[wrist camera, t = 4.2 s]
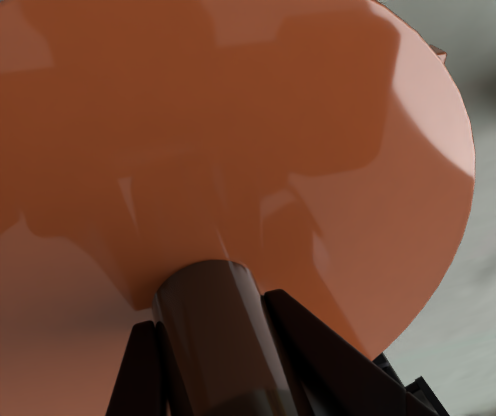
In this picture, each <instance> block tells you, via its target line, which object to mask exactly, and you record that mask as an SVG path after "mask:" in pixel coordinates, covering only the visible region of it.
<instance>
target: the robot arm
mask: <svg viewBox="0 0 496 416" xmlns="http://www.w3.org/2000/svg"><path fill="white" fill-rule="evenodd" d="M263 297H264V299H265V302H266V304H267V306H268V308H269V311H270V313H271V315H272V317H273V320H274V322H275V324H276V326H277V329H278V331H279V333H280V336H281V338H282V340H283V342H284V345H285V347H286V349H287V351H288V354H289V356H290V358H291V360H292V363H293V365H294V367H295V369H296V372H297V374H298V376H299V378H300V381H301V383H302V385H303V388H304V390H305V392H306V394H307V397H308V399H309V401H310V403H311V406H312V408H313V410H314V412H315V415H316V416H450V415H449V414H448V413H447V411H446V410H445V408H444V407H443V406H442V404H441V403H440V401H439V400H438V398H437V397H436V396H435V394H434V393H433V391H432V390H431V389H430V387H429V386H428V384H427V383H426V382H425V380H424V379H423V377H422V376H421V377H419V378H417V379H415V382H413V383H411V384H410V385H408V386H406V387H404V385H403V384H402V382H401V380H400V379H399V377H398V376H397V374H396V373H395V371H394V369H393V368H392V366H391V365H390V363H389V361H388V360H387V358H386V357H385V355H384V354H383V352H382V353H381V354H380V355H378V356H377V357H376V358H375V359H374V360H373V361H370V360H369V359H368V358H367V357H366V356H364V355H363V354H362V353H361V352H359V351H358V350H357V349H356V348H355V347H353V346H352V345H351V344H350V343H348V342H347V341H346V340H345V339H343V338H342V337H341V336H340V335H339V334H337V333H336V332H335V331H334V330H332V329H331V328H330V327H329V326H327V325H326V324H325V323H324V322H323V321H321V320H320V319H319V318H318V317H316V316H315V315H314V314H313V313H312V312H310V311H309V310H308V309H307V308H305V307H304V306H303V305H302V304H300V303H299V302H298V301H297V300H296V299H294V298H293V297H292V296H291V295H289V294H288V293H287V292H286V291H284V290H283V289H274V290H270V291H266V292H265V293H264V295H263ZM105 416H171V415H170V410H169V404H168V399H167V392H166V386H165V379H164V374H163V368H162V363H161V357H160V352H159V347H158V341H157V336H156V330H155V325H154V322H153V321H151V320H148V321H144V322H140V323H136V324H134V325H133V327H132V330H131V333H130V336H129V339H128V343H127V346H126V349H125V352H124V356H123V359H122V362H121V365H120V369H119V372H118V375H117V378H116V382H115V385H114V388H113V391H112V395H111V398H110V401H109V404H108V408H107V411H106V414H105Z"/></svg>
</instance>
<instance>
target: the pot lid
mask: <svg viewBox="0 0 496 416" xmlns="http://www.w3.org/2000/svg"><path fill="white" fill-rule="evenodd" d="M474 186H475V147H474V141H473V135H472V128H471V122H470V119H469V116H468V114H467V111H466V108H465V105H464V102H463V99H462V97H461V94H460V91H459V89H458V87H457V86H456V84H455V82H454V80H453V79H452V77H451V75H450V73H449V72H448V70H447V68H446V66H445V65H444V63H443V61H442V60H441V58H440V57H439V56H438V55H437V54H436V53H435V52H434V50H433V49H432V48H431V47H430V46H429V45H428V43H427V42H426V41H425V40H424V39H423V38H422V36H421V35H420V34H419V33H418V32H417V31H416V30H415V29H414V28H412V27H411V26H410V25H409V24H407V23H406V22H405V21H404V20H402V19H401V18H400V17H399V16H397V15H396V14H395V13H394V12H392V11H391V10H390V9H389V8H387V7H386V6H385V5H383V4H382V3H380V2H378V1H376V0H0V416H105V414H106V411H107V408H108V404H109V401H110V398H111V395H112V391H113V388H114V385H115V382H116V378H117V375H118V372H119V369H120V365H121V362H122V359H123V356H124V352H125V349H126V346H127V343H128V339H129V336H130V333H131V330H132V327H133V325H134V324H136V323H140V322H144V321H148V320H151V321H153V322H154V325H155V330H156V336H157V341H158V347H159V352H160V357H161V363H162V368H163V374H164V379H165V386H166V392H167V399H168V404H169V410H170V415H171V416H316V415H315V412H314V410H313V408H312V406H311V403H310V401H309V399H308V397H307V394H306V392H305V390H304V388H303V385H302V383H301V381H300V378H299V376H298V374H297V372H296V369H295V367H294V365H293V363H292V360H291V358H290V356H289V354H288V351H287V349H286V347H285V345H284V342H283V340H282V338H281V336H280V333H279V331H278V329H277V326H276V324H275V322H274V320H273V317H272V315H271V313H270V311H269V308H268V306H267V304H266V302H265V299H264V297H263V295H264V293H265V292H266V291H270V290H274V289H283V290H284V291H286V292H287V293H288V294H289V295H291V296H292V297H293V298H294V299H296V300H297V301H298V302H299V303H300V304H302V305H303V306H304V307H305V308H307V309H308V310H309V311H310V312H312V313H313V314H314V315H315V316H316V317H318V318H319V319H320V320H321V321H323V322H324V323H325V324H326V325H327V326H329V327H330V328H331V329H332V330H334V331H335V332H336V333H337V334H339V335H340V336H341V337H342V338H343V339H345V340H346V341H347V342H348V343H350V344H351V345H352V346H353V347H355V348H356V349H357V350H358V351H359V352H361V353H362V354H363V355H364V356H366V357H367V358H368V359H369V360H370V361H373V360H374V359H375V358H376V357H377V356H378V355H380V354H381V353H382V352H383V351H384V350H385V349H386V348H387V347H388V346H389V345H390V344H391V343H392V342H393V341H394V340H395V339H396V338H397V337H398V336H399V335H400V334H401V333H402V332H403V331H404V330H405V329H406V328H407V327H408V326H409V324H410V323H411V322H412V321H413V320H414V318H415V317H416V316H417V315H418V314H419V312H420V311H421V310H422V309H423V308H424V306H425V305H426V303H427V302H428V300H429V299H430V298H431V296H432V295H433V293H434V292H435V290H436V289H437V287H438V286H439V284H440V283H441V281H442V279H443V277H444V276H445V274H446V272H447V270H448V268H449V267H450V265H451V263H452V261H453V259H454V256H455V254H456V252H457V249H458V247H459V245H460V242H461V240H462V238H463V235H464V232H465V228H466V225H467V221H468V218H469V215H470V211H471V206H472V199H473V193H474Z"/></svg>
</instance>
